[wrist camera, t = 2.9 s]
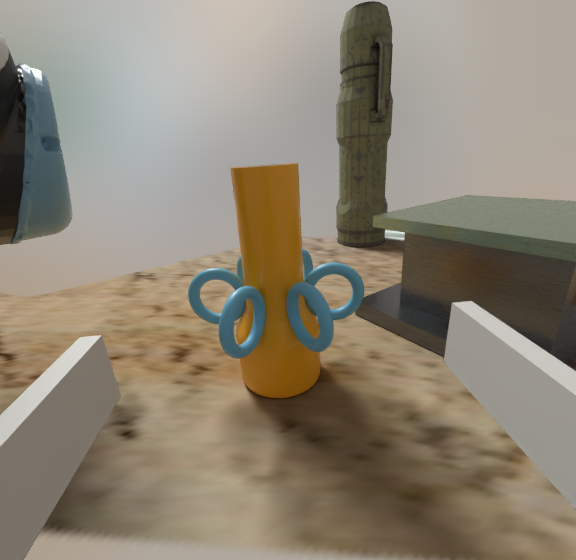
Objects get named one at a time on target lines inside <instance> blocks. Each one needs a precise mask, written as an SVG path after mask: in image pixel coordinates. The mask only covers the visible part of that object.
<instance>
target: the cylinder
mask: <svg viewBox="0 0 576 560" xmlns="http://www.w3.org/2000/svg"><path fill="white" fill-rule="evenodd" d="M231 176H232V184H233V193H234V201H235V210H236V217H237V226H238V234H239V242H240V251H241V255H240V257H239V259H238V262H237V274H238V276H237V275H236V274H234V273H233V272H231V271H229V270H226V269H221V268H211V269H207V270H204V271H202V272H200V273H199V274H198V275H197V276H195V278H194V279H193V280H192V282H191V284H190V286H189V291H188V297H189V302H190V305H191V307H192V309H193V310H194V311H195V313H196V314H197V315H198V316H199V317H201V318H202V319H204V320H205V321H208V322H210V323H214V324H219V339H220V343H221V346H222V348H223V350H224V351H225V353H226V354H227V355H229V356H230V357H232V358H236V359H240V363H241V371H242V377H243V380H244V382H245V384H246V386H247V387H248V388H249V389H250V390H251V391H253V392H254V393H256V394H258V395H261V396H263V397H268V398H288V397H292V396H296V395H298V394H301V393H303V392H305V391H307V390H308V389H310V388H311V387H312V386H313V385H314V384H315V382H316V381H317V380H318V377H319V375H320V352H321V351H324V350H325V349H327V348H328V347H329V345H330V344H331V341H332V338H333V331H334V328H333V320H339V319H343V318H345V317H348V316H349V315H351V314H352V313H354V312H355V311H356V310H357V309H358V307H359V306H360V304H361V302H362V300H363V296H364V285H363V281H362V279H361V277H360V276H359V274H358V273H357V272H356V271H355V270H354V269H353V268H351V267H349V266H347V265H345V264H342V263H326V264H323V265H320V266H318V267H317V268H315V269H314V270H313V264H312V259H311V256H310V254H309V253H308V252H307V251H306V250H304V249H302V238H301V217H300V197H299V175H298V163H290V164H272V165H257V166H243V167H233V168H231ZM303 266H304V276H303ZM330 274H338V275H341V276H344V277H345V278H347V279H348V280H349V281H350V283H351V285H352V289H353V293H352V297H351V299H350V301H349V302H348V303H347V304H346V305H344V306H343V307H341V308H338V309H329V306H328V304H327V302H326V300H325V299H324V297H323V296H322V294H321V293H320V292H319V291H318V289H317V288H315V287H314V286H315V284H316V283H317V281H318V280H319V279H321V278H322V277H324V276H326V275H330ZM214 279H219V280H223V281H226V282H228V283H229V284H230V285H232V286H233V287H234V289H235V291H234V292H233V293H232V294H231V295H230V297H229V298H228V300H227V301H226V303H225V305H224V307H223V310H222V313H221V314H219V313H214V312H212V311H210V310H208V309H207V308H206V307H205V306H204V305H203V303H202V302H201V299H200V290H201V287H202V286H203V285H204V284H205V283H206V282H207V281H210V280H214ZM241 316H242V317H241ZM315 316H317V318H318V320H317V318H316V317H315ZM240 317H241V319H240V321H239V324H238V326H237V342H238V344H237V343H236V342H235V339H234V333H233V327H234V321H236V320H237V319H239V318H240ZM318 322H319V323H318Z"/></svg>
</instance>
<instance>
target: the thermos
mask: <svg viewBox="0 0 576 560" xmlns="http://www.w3.org/2000/svg"><path fill="white" fill-rule="evenodd" d="M391 64H392V26H391V21H390V16H389V12H388V8H387V6H386V5H384V4H382V3H379V2H364V3H361V4H358V5H356V6H354V7H353V8H352V9H350V10H349V11H348V12H347V13H346V16H345V19H344V23H343V27H342V31H341V36H340V69H341V70H340V73H341V75H342V83H341V84H340V94H339V98H338V102H337V141H338V143H339V146H340V198H339V201H338V204H337V230H338V243H339V244H342V245H346V246H353V247H368V246H375V245H379V244H382V243H383V242H384V241H385V237H384V235H385V229H383V228H377V227H373V216H374V215H379V214H384V213H387V202H386V199H385V180H386V161H387V160H386V159H387V142H388V140H389V138H390V135H391V122H392V104H393V99H392V95H391V91H390V85H391V66H392V65H391Z"/></svg>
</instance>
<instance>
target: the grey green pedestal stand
mask: <svg viewBox="0 0 576 560" xmlns="http://www.w3.org/2000/svg"><path fill="white" fill-rule="evenodd" d="M373 227H377V228H383V229H389V230H395V231H400V232H405V241H404V254H403V267H402V280H401V283H399V284H396V285H394V286H391V287H389V288H386V289H384V290H381V291H379V292H376V293H374V294H371V295H369V296H366V297H364V298H363V300H362V302H361V304H360V306H359V307H358V309H357V310H356V311H355V314H356V315H358V316H360V317H362V318H364V319H366V320H369V321H371V322H373V323H375V324H377V325H379V326H381V327H383V328H385V329H387V330H389V331H391V332H394V333H396V334H398V335H400V336H402V337H404V338H406V339H408V340H410V341H412V342H414V343H416V344H418V345H421V346H423V347H425V348H427V349H429V350H431V351H433V352H435V353H437V354H439V355H441V356H443V357H444V355H445V348H446V341H447V334H448V327H449V320H450V313H451V306H452V303H455V302H465V301H472V302H474V303H475V304H477V305H478V306H479V307H481V308H482V309H484V310H485V311H487V312H488V313H490V314H491V315H493V316H494V317H496V318H497V319H499V320H500V321H502V322H503V323H505V324H506V325H508V326H509V327H511V328H512V329H514V330H515V331H517V332H518V333H520V334H521V335H523V336H524V337H526V338H527V339H529V340H530V341H532V342H533V343H535V344H536V345H538V346H539V347H541V348H542V349H543V350H545V351H546V352H548V353H549V354H551V355H552V356H554V357H555V358H557V359H558V360H560V361H561V362H563V363H564V364H566V365H567V366H569V367H570V368H576V201H562V200H544V199H526V198H508V197H489V196H470V195H466V196H461V197H457V198H452V199H448V200H443V201H439V202H434V203H430V204H425V205H420V206H416V207H411V208H406V209H402V210H397V211H393V212H388V213H384V214H379V215H374V216H373Z"/></svg>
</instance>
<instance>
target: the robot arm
mask: <svg viewBox="0 0 576 560" xmlns="http://www.w3.org/2000/svg"><path fill="white" fill-rule="evenodd" d="M71 219H72V206H71V199H70V193H69V187H68V183H67V176H66V171H65V165H64V160H63V155H62V150H61V147H60V139H59V134H58V129H57V122H56V117H55V112H54V106H53V102H52V97H51V92H50V87H49V83H48V80H47V77H46V76H45V75H44V73H43V72H41V71H40V70H37V69H33V68H30V67H29V66H27V65H24V64H19V65H18V66H15V64H14V62H13V59H12V56H11V54H10V52H9V49H8V46H7V44H6V41H5V39H4V38H3V36H2V35H1V33H0V245H3V244H16V243H19V242H20V241H22V240H27V239H32V238H37V237H42V236H47V235H52V234H56V233H59V232H61V231H62V230H64V229H65V228H66V227H68V225H69V224H70V222H71ZM443 363H444V364H445V365H446V366H447V367H448V368H449V369H450V370H451V371H452V373H453V374H454V375H455V376H456V377H457V378H458V379H459V380H460V382H461V383H462V384H463V385H464V386H465V387H466V388H467V389H468V390H469V392H470V393H471V394H472V395H473V396H474V397H475V398H476V399H477V400H478V402H479V403H480V404H481V405H482V406H483V407H484V408H485V409H486V410H487V412H488V413H489V414H490V415H491V416H492V417H493V418H494V419H495V420H496V422H497V423H498V424H499V425H500V426H501V427H502V428H503V429H504V430H505V432H506V433H507V434H508V435H509V436H510V437H511V438H512V439H513V440H514V442H515V443H516V444H517V445H518V446H519V447H520V448H521V449H522V450H523V452H524V453H525V454H526V455H527V456H528V457H529V458H530V459H531V461H532V462H533V463H534V464H535V465H536V466H537V467H538V468H539V469H540V471H541V472H542V473H543V474H544V475H545V476H546V477H547V478H548V479H549V481H550V482H551V483H552V484H553V485H554V486H555V487H556V488H557V489H558V491H559V492H560V493H561V494H562V495H563V496H564V497H565V498H566V499H567V501H568V502H569V503H570V504H571V505H572V506H573V507H574V508H575V509H576V368H570V367H569V366H567V365H566V364H564V363H563V362H561V361H560V360H558V359H557V358H555V357H554V356H552V355H551V354H549V353H548V352H546V351H545V350H543V349H542V348H541V347H539V346H538V345H536V344H535V343H533V342H532V341H530V340H529V339H527V338H526V337H524V336H523V335H521V334H520V333H518V332H517V331H515V330H514V329H512V328H511V327H509V326H508V325H506V324H505V323H503V322H502V321H500V320H499V319H497V318H496V317H494V316H493V315H491V314H490V313H488V312H487V311H485V310H484V309H482V308H481V307H479V306H478V305H477V304H475V303H474V302H472V301H465V302H455V303H452V306H451V313H450V320H449V327H448V334H447V341H446V348H445V355H444V362H443ZM120 397H121V394H120V391H119V388H118V385H117V382H116V378H115V375H114V372H113V369H112V366H111V363H110V360H109V357H108V354H107V350H106V347H105V344H104V341H103V338H102V335H100V336H89V337H80V338H79V339H78V340H77V341H76V342H75V343H74V344H73V345H72V346H70V347H69V348H68V349H67V350H66V351H65V352H64V353H63V354H62V355H61V356H60V357H59V358H58V359H57V360H56V361H55V362H54V363H53V364H52V365H51V366H50V367H49V368H48V369H47V370H46V371H45V372H44V373H43V374H42V375H41V376H40V377H39V378H38V379H37V380H36V381H35V382H34V383H33V384H32V385H31V386H30V387H29V388H28V389H27V390H25V391H24V392H23V393H22V394H21V395H20V396H19V397H18V398H17V399H16V400H15V401H14V402H13V403H12V404H11V405H10V406H9V407H8V408H7V409H6V410H5V411H4V412H3V413H2V414H1V415H0V560H24V558H25V556H26V555H27V553H28V551H29V550H30V548H31V546H32V545H33V543H34V541H35V540H36V538H37V536H38V535H39V533H40V531H41V530H42V528H43V526H44V525H45V523H46V521H47V520H48V518H49V516H50V514H51V513H52V511H53V509H54V508H55V506H56V504H57V503H58V501H59V499H60V498H61V496H62V494H63V493H64V491H65V489H66V488H67V486H68V484H69V483H70V481H71V479H72V477H73V476H74V474H75V472H76V471H77V469H78V467H79V466H80V464H81V462H82V461H83V459H84V457H85V456H86V454H87V452H88V451H89V449H90V447H91V446H92V444H93V442H94V440H95V439H96V437H97V435H98V434H99V432H100V430H101V429H102V427H103V425H104V424H105V422H106V420H107V419H108V417H109V415H110V414H111V412H112V410H113V409H114V407H115V405H116V403H117V402H118V400H119V398H120Z"/></svg>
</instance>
